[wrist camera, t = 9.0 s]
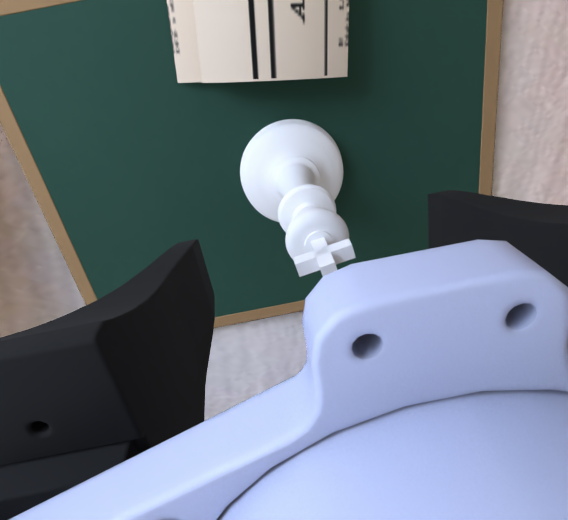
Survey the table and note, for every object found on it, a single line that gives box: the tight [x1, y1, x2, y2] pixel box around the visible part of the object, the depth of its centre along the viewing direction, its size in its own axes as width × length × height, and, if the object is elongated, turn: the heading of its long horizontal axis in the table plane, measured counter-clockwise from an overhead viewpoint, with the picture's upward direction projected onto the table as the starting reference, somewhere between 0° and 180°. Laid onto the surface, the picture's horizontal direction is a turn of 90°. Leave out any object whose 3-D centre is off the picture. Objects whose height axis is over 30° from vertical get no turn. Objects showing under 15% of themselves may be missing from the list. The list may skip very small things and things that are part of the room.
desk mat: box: [0, 0, 503, 328], centre depth 20 cm, size 17×22×1 cm
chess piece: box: [240, 119, 356, 277], centre depth 16 cm, size 5×5×10 cm
